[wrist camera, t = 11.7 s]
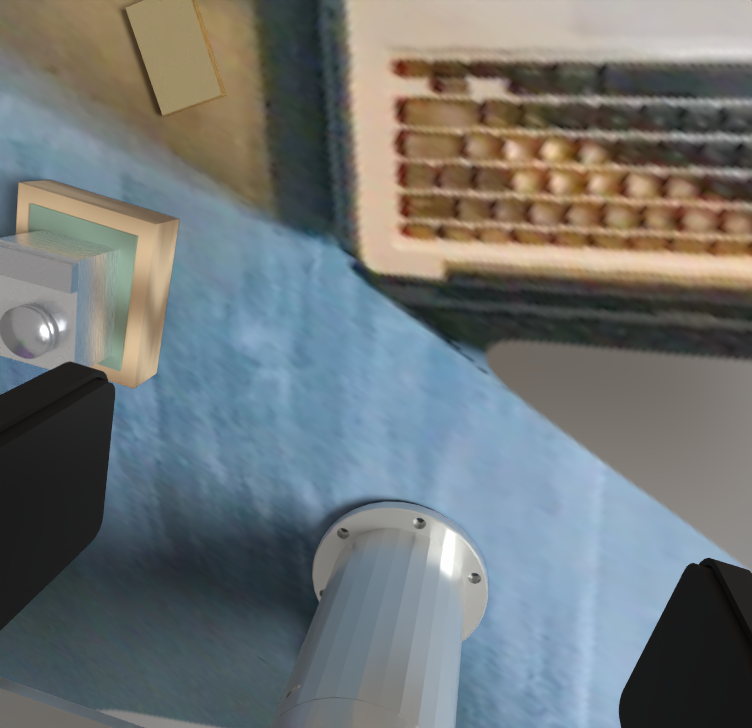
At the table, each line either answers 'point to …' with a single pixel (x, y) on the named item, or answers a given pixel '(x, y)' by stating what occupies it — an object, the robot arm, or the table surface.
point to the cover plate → (176, 53)
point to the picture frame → (135, 266)
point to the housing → (56, 299)
